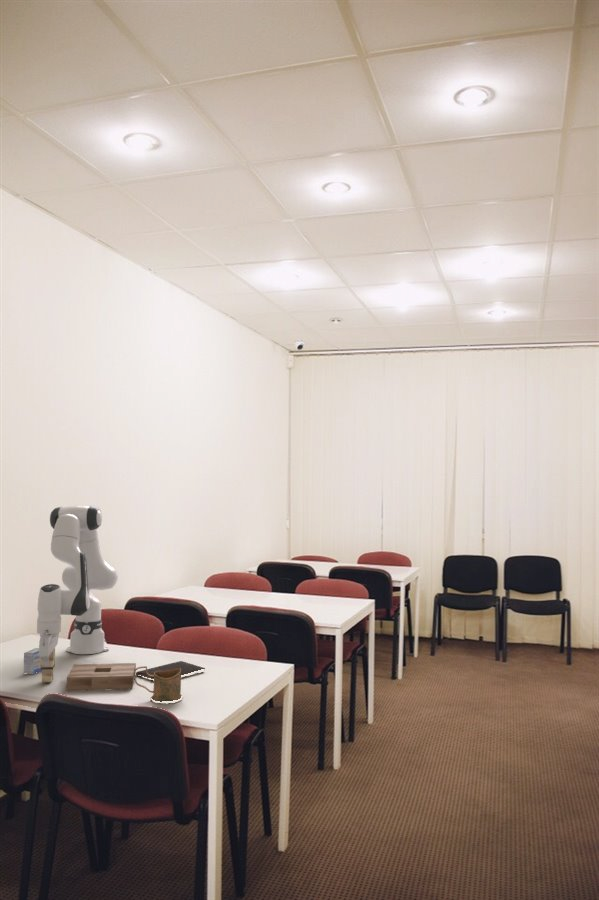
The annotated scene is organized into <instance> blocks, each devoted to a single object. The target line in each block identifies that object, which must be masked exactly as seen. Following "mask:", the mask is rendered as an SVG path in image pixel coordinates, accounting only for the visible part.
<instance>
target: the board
mask: <svg viewBox="0 0 599 900" xmlns="http://www.w3.org/2000/svg"><path fill="white" fill-rule="evenodd" d="M136 665H137V663H136V662H123V663H122V662H121V663H119V662H117V663H83V664H82V663H77V664H76V663H75V664H73V666H72V668H71V669H70V671H69V673H68V675H67V676H66V689H65V690H66V692H76V691H77V692H79V691H80V692H81V690H86V691H106V690H105V689H121V690H133V689H134V684H135V680H134V671H135V669H136V668H137V666H136ZM136 672H137V671H136ZM136 672H135V674H136ZM132 688H133V689H132Z"/></svg>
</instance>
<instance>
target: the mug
mask: <svg viewBox="0 0 599 900" xmlns="http://www.w3.org/2000/svg"><path fill="white" fill-rule="evenodd" d="M139 669H145V670H146V673H147V675H148V676H151V677H154V681H153V690H150V689H149V688H148V687H146V686H145V685H142V684H141V683H140V684H139V682H137V679H136V673H135V672H137V671H138V670H139ZM147 669H148V667H147V666H146V665H145V666H138V667H136V669H135V671H134V684H136V685H137V686H139V687H141V688H143V689H145V690H146V691H147V692H149V693H151V694H152V696H151V697H150V699H151V698H152V699H153V700H155V701H160V702H162V701H173V700H178V699H180V698H181V696H183V695H182V694H181V692H182V691H181V690H182V681H181V680H182V678H181V668H179V669H173V670H168V671H155V672H154V675H150V674H148V672H147Z"/></svg>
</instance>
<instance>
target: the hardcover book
mask: <svg viewBox="0 0 599 900" xmlns="http://www.w3.org/2000/svg"><path fill="white" fill-rule="evenodd" d="M179 668H181V675H184V674H188V673H191V672H194V671H198V670H201V669H204V670H205V669H206V668H205V667H202V666H199V665H197V664H193V663H190V662H186V661H182V660H179V661H175V662H171V663H168V664H167V663H166V664H163V665H159V666H155V667H151V668H147V672H148V674H150V675H154V672H155V671H168V670H173V669H179ZM136 675H141V676H144V677H147V678H151V679H154V677H151V676H148V675H147V673H146V669H143V670H137V671H136V673H135V676H136Z"/></svg>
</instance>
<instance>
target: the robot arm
mask: <svg viewBox="0 0 599 900" xmlns="http://www.w3.org/2000/svg"><path fill="white" fill-rule="evenodd" d="M102 515H103V514H102V511H101V509H100V508H99V507H97V506H95V505H90V506H89V505H75V506H74V505H73V506H72V505H71V506H58V507H55V508H53V510H52V511H51V512H50V516H49V523H50V527H51V528H52V529H53V532H52V536H51V541H50V551H51V554H52V555H53V557H54V558H55V559H57V560H58V561H59V562H62V563H64V564H67V566H66V567H65V568H64V569H63V572H62V573H61V580H62V583H63V585H64V586H65V587H66V588H67V589H68V590H67V589H65V590H64V589H63V590H62V589H61V586H60V585H58V584H54V583H50V584H49V583H48V584H44V585H43V586H41V587H40V588H39V593H38V597H37V615H38V616H37V618H36V619H37V620H36V633H37V634H39V637H40V638H39V641H38V643H39V645H38V648H39V658H43V661H44V666H48V665H49V656H50V654H51V653H52V650H53V649H54V648H55V649H56V647H57V645H58V642H59V637H60V633H61V631H62V616H75V620H74V626H73V627H74V629H73V630H72V632H71V633H70V639H69V640H70V641H69V646H68V647H66V648H65V652H68V653H72V654H75V655H92V654H93V655H94V654H99V653H103V652H107V651H110V650H109V649H110V648H109V646H108V643H107V641H106V639H105V632H104V630H103V627H102V626H103V625H102V624H103V619H102V603H101V600H100V599H99V598H97V597H96V596H94V594H93V593H92V590H93V591H94V590H96V591H104V590H105V591H106V590H111V589H113V588H114V587H115V586H116V584H117V582H118V577H119V576H118V573H117V570H116V568H114V567H113V566H111V565H110V564H109V563H108V562H107V561H106V560H105V558H104V557H103V555H102V553H101V548H100V541H99V535H98V529H99V528H100V527H101V525H102V521H103V516H102Z"/></svg>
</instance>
